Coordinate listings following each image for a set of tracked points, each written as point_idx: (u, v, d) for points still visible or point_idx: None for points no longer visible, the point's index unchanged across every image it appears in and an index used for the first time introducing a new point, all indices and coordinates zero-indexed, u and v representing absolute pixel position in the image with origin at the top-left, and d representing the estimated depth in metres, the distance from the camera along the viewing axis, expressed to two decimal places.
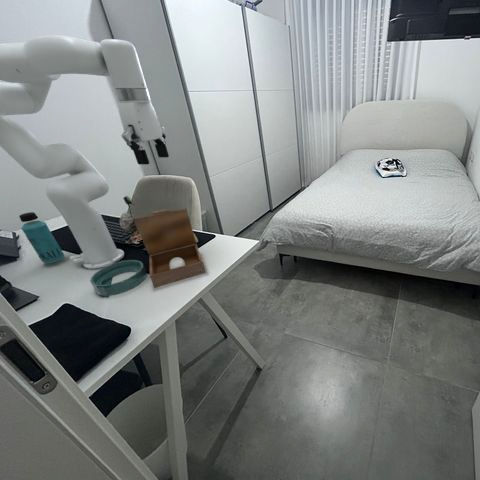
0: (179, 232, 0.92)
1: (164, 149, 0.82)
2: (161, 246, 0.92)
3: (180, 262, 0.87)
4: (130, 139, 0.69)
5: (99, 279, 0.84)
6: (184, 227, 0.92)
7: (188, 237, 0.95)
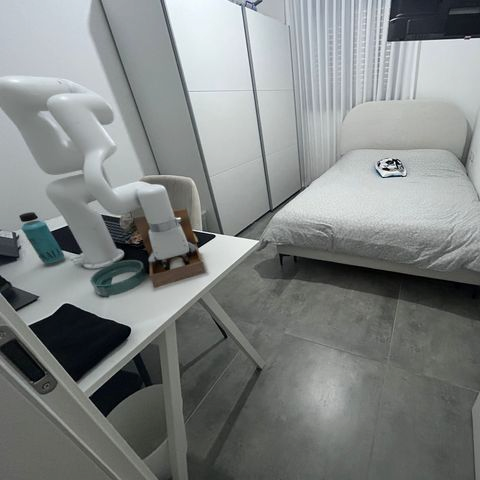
0: None
1: None
2: None
3: (180, 262, 0.87)
4: (154, 260, 0.84)
5: (99, 279, 0.84)
6: (184, 227, 0.92)
7: (188, 237, 0.95)
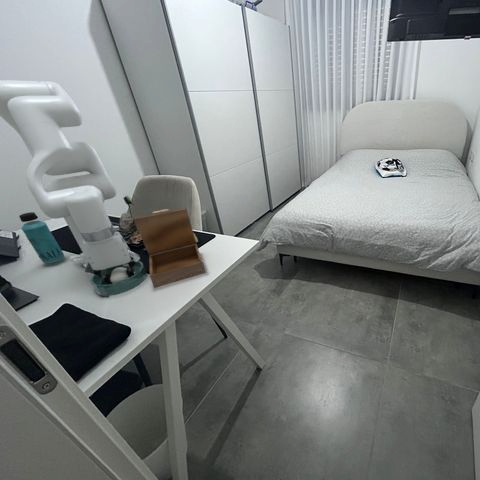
0: (179, 232, 0.92)
1: (128, 275, 0.85)
2: (161, 246, 0.92)
3: (121, 272, 0.83)
4: (91, 271, 0.80)
5: (99, 279, 0.84)
6: (184, 227, 0.92)
7: (188, 237, 0.95)
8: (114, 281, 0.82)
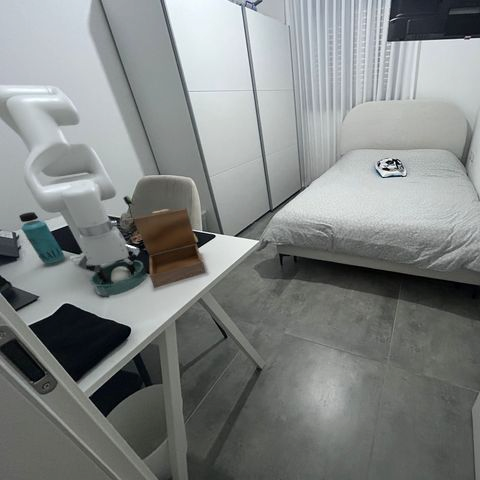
0: (179, 232, 0.92)
1: (129, 269, 0.84)
2: (161, 246, 0.92)
3: (123, 272, 0.83)
4: (85, 266, 0.78)
5: (99, 279, 0.84)
6: (184, 227, 0.92)
7: (188, 237, 0.95)
8: (115, 280, 0.82)
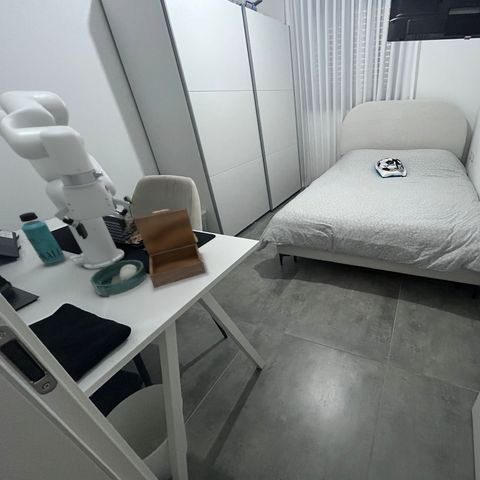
0: (179, 232, 0.92)
1: None
2: (161, 246, 0.92)
3: None
4: (62, 218, 0.72)
5: (99, 279, 0.84)
6: (184, 227, 0.92)
7: (188, 237, 0.95)
8: (126, 275, 0.83)
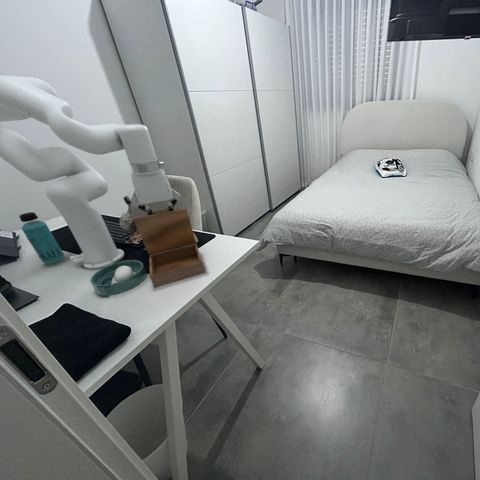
0: (179, 232, 0.92)
1: None
2: (161, 246, 0.92)
3: (129, 272, 0.85)
4: (137, 205, 0.84)
5: (99, 279, 0.84)
6: (184, 227, 0.92)
7: (188, 237, 0.95)
8: (119, 278, 0.82)
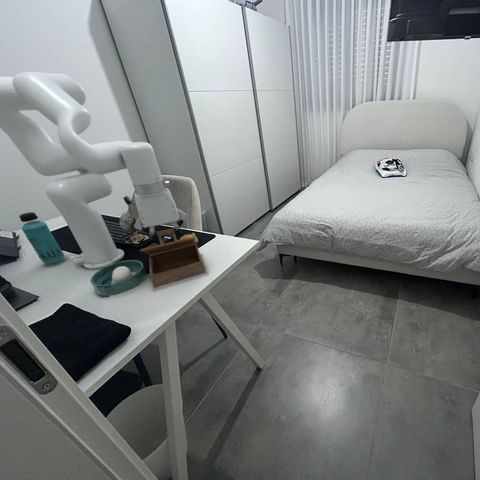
0: (183, 244, 0.90)
1: None
2: (162, 251, 0.91)
3: (125, 272, 0.84)
4: (140, 227, 0.78)
5: (99, 279, 0.84)
6: (189, 242, 0.90)
7: (190, 243, 0.94)
8: (116, 279, 0.82)
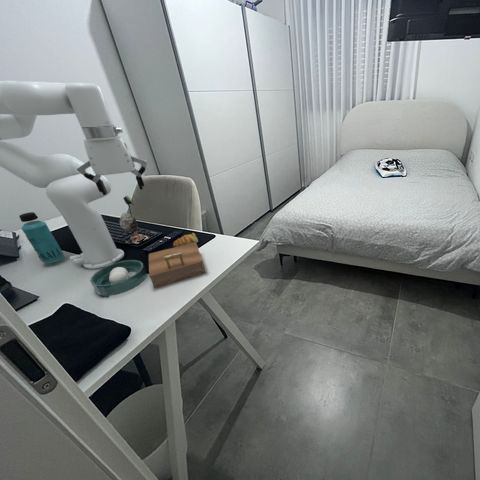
0: None
1: None
2: None
3: (120, 272, 0.83)
4: (83, 172, 0.75)
5: (99, 279, 0.84)
6: None
7: None
8: (113, 281, 0.82)
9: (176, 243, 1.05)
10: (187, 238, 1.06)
